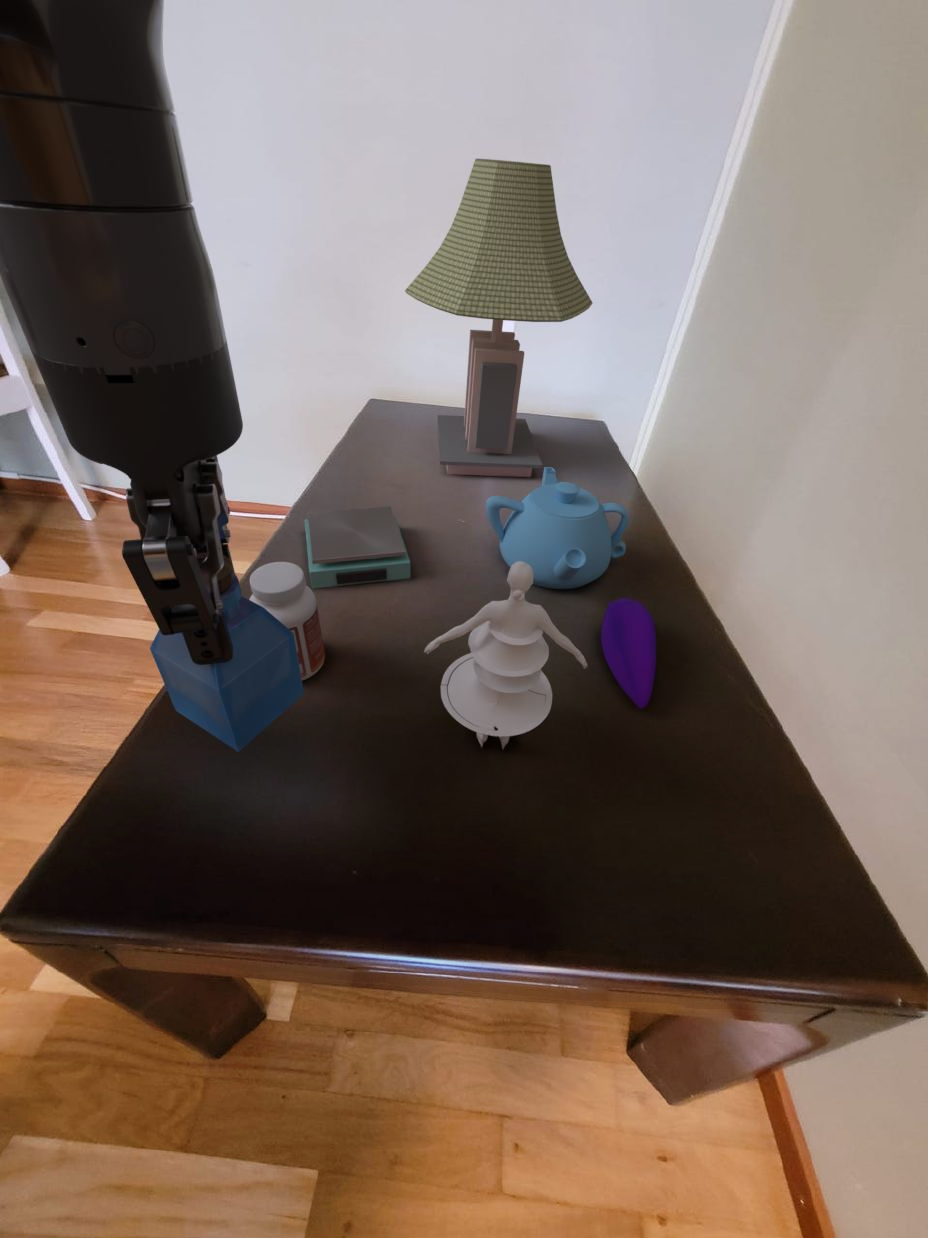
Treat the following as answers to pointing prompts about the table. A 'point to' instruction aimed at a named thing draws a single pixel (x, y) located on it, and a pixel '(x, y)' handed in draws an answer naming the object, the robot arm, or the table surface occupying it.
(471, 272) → the desk lamp
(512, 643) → the figurine
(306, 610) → the pill bottle
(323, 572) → the scale
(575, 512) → the teapot
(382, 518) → the pan
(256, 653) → the perfume bottle
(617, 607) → the purple teardrop shape
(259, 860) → the table surface
